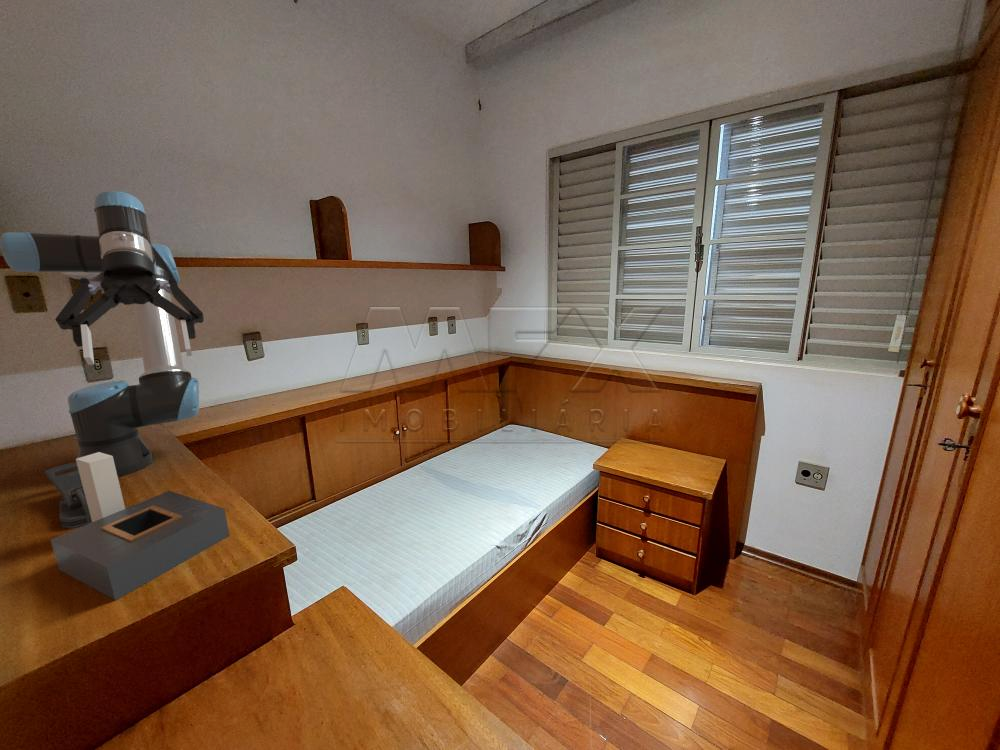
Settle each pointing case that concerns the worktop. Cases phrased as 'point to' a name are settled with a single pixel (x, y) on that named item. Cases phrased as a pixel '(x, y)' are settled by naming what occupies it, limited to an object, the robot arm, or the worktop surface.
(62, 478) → the zipper slider
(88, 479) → the white rectangular bar
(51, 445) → the worktop surface
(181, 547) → the block
